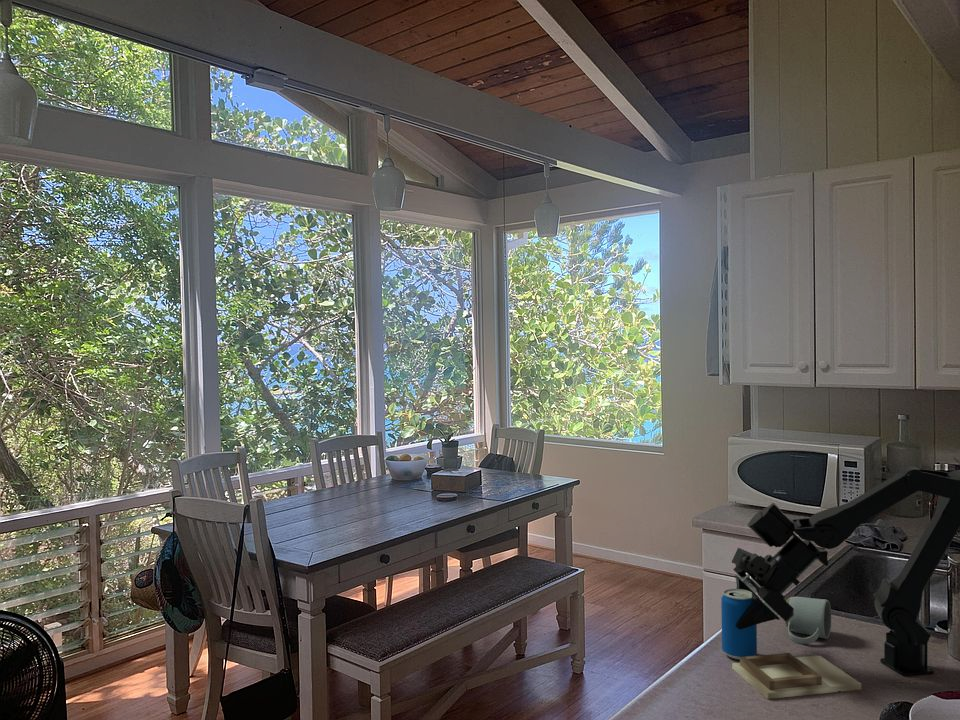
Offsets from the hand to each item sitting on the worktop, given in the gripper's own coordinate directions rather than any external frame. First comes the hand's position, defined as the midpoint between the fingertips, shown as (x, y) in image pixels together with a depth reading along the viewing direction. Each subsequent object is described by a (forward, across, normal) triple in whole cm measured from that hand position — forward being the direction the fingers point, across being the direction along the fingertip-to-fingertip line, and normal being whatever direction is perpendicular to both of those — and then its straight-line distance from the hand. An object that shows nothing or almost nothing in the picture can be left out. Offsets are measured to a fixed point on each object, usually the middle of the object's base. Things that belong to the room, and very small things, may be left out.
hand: (731, 620), depth 144 cm
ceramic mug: (-8, -10, +18) cm, 22 cm away
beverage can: (+4, 0, +6) cm, 7 cm away
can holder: (-1, +10, +11) cm, 15 cm away
